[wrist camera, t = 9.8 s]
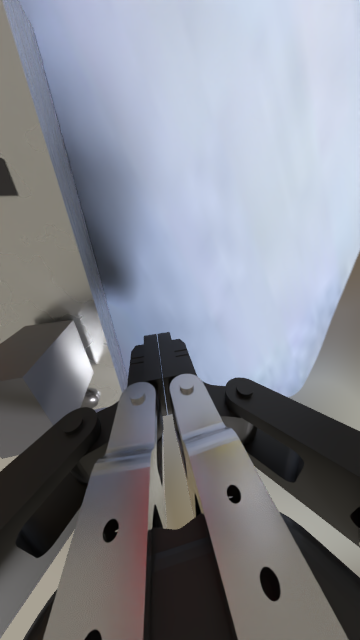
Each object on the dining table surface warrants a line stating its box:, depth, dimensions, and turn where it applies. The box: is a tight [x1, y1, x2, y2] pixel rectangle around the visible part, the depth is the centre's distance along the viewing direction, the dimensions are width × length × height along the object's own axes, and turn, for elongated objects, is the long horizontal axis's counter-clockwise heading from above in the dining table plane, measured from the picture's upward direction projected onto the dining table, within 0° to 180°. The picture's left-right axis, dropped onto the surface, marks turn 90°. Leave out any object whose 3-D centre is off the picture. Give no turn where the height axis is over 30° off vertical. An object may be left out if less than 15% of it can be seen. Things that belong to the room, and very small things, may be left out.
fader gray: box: [0, 320, 94, 459], centre depth 8 cm, size 4×2×4 cm, turn 3°
